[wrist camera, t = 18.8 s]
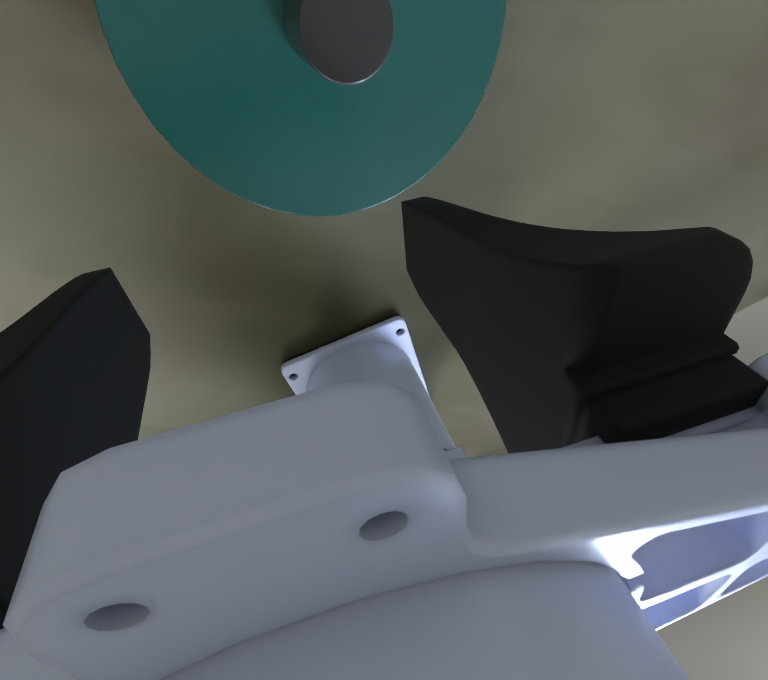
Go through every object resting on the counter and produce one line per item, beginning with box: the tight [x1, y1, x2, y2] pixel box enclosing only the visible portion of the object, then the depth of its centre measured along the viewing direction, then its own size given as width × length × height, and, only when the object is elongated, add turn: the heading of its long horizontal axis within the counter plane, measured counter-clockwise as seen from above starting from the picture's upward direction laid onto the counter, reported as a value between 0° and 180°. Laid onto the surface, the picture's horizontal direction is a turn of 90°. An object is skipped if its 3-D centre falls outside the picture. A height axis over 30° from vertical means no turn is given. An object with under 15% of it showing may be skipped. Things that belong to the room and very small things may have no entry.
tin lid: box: [94, 0, 506, 216], centre depth 12 cm, size 12×12×4 cm
